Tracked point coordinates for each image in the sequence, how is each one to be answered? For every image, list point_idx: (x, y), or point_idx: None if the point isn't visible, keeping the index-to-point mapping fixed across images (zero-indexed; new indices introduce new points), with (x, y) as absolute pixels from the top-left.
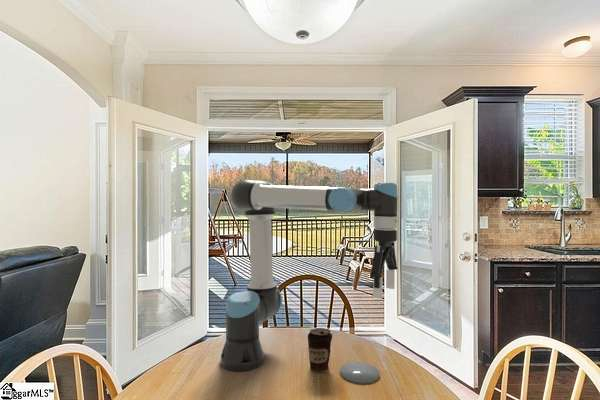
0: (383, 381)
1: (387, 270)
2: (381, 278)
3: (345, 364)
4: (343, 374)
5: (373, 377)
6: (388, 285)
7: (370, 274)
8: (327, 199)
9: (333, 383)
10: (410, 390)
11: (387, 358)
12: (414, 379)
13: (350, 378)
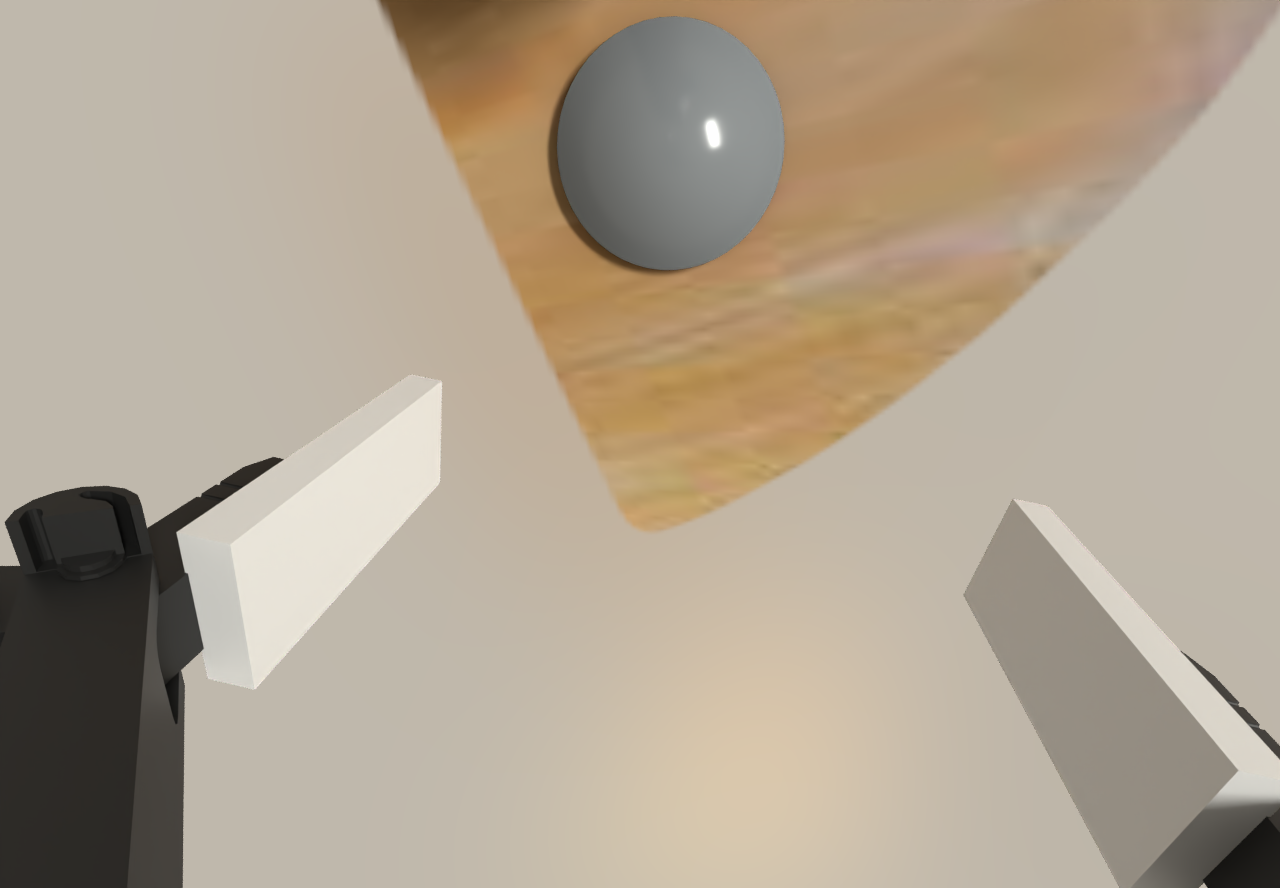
0: (634, 293)
1: (1204, 767)
2: (217, 666)
3: (717, 39)
4: (591, 66)
5: (625, 245)
6: (1015, 555)
7: (15, 513)
8: None
9: (504, 30)
10: (604, 412)
11: (908, 283)
12: (706, 426)
13: (564, 122)
